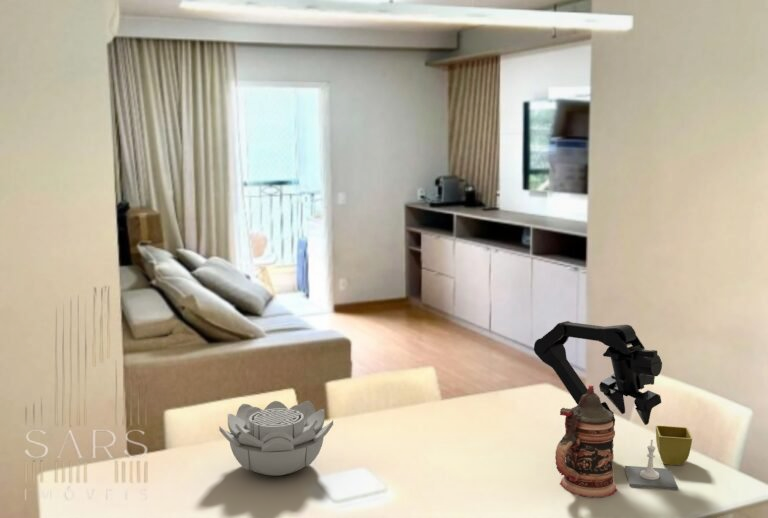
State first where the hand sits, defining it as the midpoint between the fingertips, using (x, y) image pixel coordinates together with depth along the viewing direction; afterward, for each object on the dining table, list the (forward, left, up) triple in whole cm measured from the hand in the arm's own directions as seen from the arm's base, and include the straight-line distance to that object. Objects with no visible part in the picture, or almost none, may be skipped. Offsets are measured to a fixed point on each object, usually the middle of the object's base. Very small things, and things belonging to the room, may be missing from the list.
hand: (634, 418), depth 225 cm
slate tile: (+3, -12, -12) cm, 17 cm away
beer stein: (-15, -20, -13) cm, 28 cm away
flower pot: (+11, +1, -13) cm, 17 cm away
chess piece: (+3, -12, -12) cm, 17 cm away
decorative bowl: (-98, -23, -13) cm, 101 cm away
